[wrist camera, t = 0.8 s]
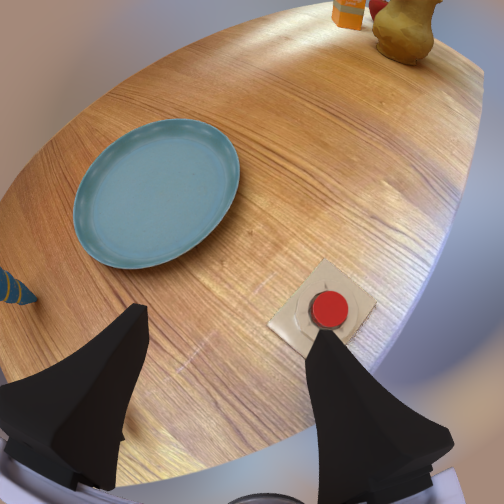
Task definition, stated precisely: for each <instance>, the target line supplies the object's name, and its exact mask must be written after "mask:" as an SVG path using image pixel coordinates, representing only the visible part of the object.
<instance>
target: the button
mask: <svg viewBox="0 0 504 504" xmlns="http://www.w3.org/2000/svg"><path fill="white" fill-rule="evenodd" d="M347 315H348V304H347V301H346V299H345V298H344V297H343V296H342V295H341V294H340V293H338V292H335V291H326V292H323V293H322V294H320V295H319V296H318V297H317V298H316V299H315V300H314V302H313V304H312V306H311V316H312V319H313V321H314V322H315V323H316V324H317V325H318V326H320V327H322V328H327V329H329V328H333V327H336V326H338V325H340V324H341V323H343V322H344V320H345V319H346V317H347Z"/></svg>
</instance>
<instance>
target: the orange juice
mask: <svg viewBox="0 0 504 504" xmlns="http://www.w3.org/2000/svg"><path fill="white" fill-rule="evenodd" d="M365 3H366V0H334V1H333V11H332V20H333V21H334V23H335V24H336V25H337V26H338V27H342V28H349V29H354V30H361V25H362V20H363V15H364V10H365Z"/></svg>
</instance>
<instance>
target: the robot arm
mask: <svg viewBox="0 0 504 504" xmlns="http://www.w3.org/2000/svg"><path fill="white" fill-rule="evenodd" d="M148 345H149V328H148V312H147V306H145V305H140V304H135V303H133V304H132V305H130V306H129V307H128V308H127V309H126V310H125V311H124V312H123V313H122V314H121V315H120V316H119V317H117V318H116V319H115V320H114V321H113V322H112V323H111V324H110V325H109V326H107V327H106V328H105V329H104V330H103V331H102V332H101V333H99V334H98V335H97V336H96V337H94V338H93V339H92V340H91V341H89V342H88V343H87V344H86V345H84V346H83V347H82V348H80V349H79V350H77V351H76V352H74V353H73V354H71V355H70V356H68V357H67V358H65V359H64V360H62V361H60V362H58V363H56V364H55V365H53V366H51V367H49V368H47V369H45V370H43V371H41V372H39V373H37V374H34V375H32V376H29V377H27V378H24V379H21V380H18V381H15V382H12V383H9V384H5V385H2V386H1V387H0V428H1V429H2V430H3V431H4V432H5V433H6V434H7V435H8V436H9V439H8V441H6V440H4V439H3V438H2V437H0V499H1V500H2V501H3V502H5V503H6V504H143V503H139V502H135V501H131V500H128V499H124V498H121V497H118V496H114V495H111V494H108V493H105V492H102V491H100V490H97V489H103V490H106V491H110V490H113V489H114V488H115V483H116V470H117V460H118V452H119V445H120V440H121V434H122V428H123V424H124V419H125V414H126V410H127V407H128V404H129V401H130V398H131V395H132V393H133V390H134V387H135V384H136V382H137V379H138V377H139V374H140V371H141V369H142V366H143V363H144V360H145V357H146V353H147V349H148ZM305 368H306V380H307V385H308V390H309V395H310V399H311V404H312V408H313V413H314V417H315V422H316V428H317V436H318V448H319V491H318V504H466V502H465V499H464V495H463V492H462V489H461V486H460V483H459V481H458V478H457V475H456V472H455V469H454V467H450V468H448V469H446V470H444V471H442V472H440V473H438V474H436V475H434V476H432V477H431V476H430V472H431V471H433V468H432V465H431V464H432V463H434V462H435V461H437V460H438V459H439V458H441V457H442V456H444V455H445V454H446V453H448V452H449V451H450V450H451V449H452V448H453V446H454V441H453V439H452V436H451V434H450V432H449V429H448V428H446V427H443V426H441V425H439V424H437V423H435V422H433V421H431V420H429V419H427V418H425V417H423V416H422V415H420V414H418V413H417V412H415V411H413V410H412V409H410V408H409V407H407V406H406V405H404V404H403V403H402V402H401V401H399V400H398V399H397V398H395V397H394V396H393V395H392V394H391V393H390V392H388V391H387V390H386V389H385V388H384V387H383V386H382V385H381V384H380V383H378V382H377V380H375V379H374V378H373V376H372V375H371V374H370V373H369V372H368V371H367V370H366V369H365V368H364V367H363V366H362V365H361V363H360V362H359V361H358V360H357V359H356V358H355V357H354V355H353V354H352V353H351V352H350V351H349V349H348V348H347V347H346V346H345V345H344V343H343V342H342V341H341V340H340V339H339V337H338V336H337V335H336V334H335V333H334V332H333V331H332V330H321V329H319V332H318V334H317V336H316V338H315V340H314V343H313V345H312V347H311V349H310V351H309V353H308V356H307V358H306V360H305ZM92 487H95V488H97V489H94V488H92Z"/></svg>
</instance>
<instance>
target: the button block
mask: <svg viewBox="0 0 504 504" xmlns="http://www.w3.org/2000/svg"><path fill="white" fill-rule="evenodd" d="M326 291H335V292H338V293H340V294H341V295H342V296H343V297H344V298H345V299H346V301H347V304H348V315H347V317H346V319H345V320H344V322H343V323H341V324H340V325H338V326H336V327H333V328H329V329H327V328H322V327H320V326H318V325H317V324H316V323H315V322H314V321H313V319H312V316H311V306H312V304H313V302H314V300H315V299H316V298H317V297H318V296H319V295H320V294H322V293H323V292H326ZM376 302H377V301H376V300H375V299H374V298H373V297H372V296H371V295H369V294H368V293H367V292H366V291H365V290H363V289H362V288H361V287H360V286H359V285H358V284H356V283H355V282H354V281H353V280H352V279H350V278H349V277H348V276H347V275H346V274H344V273H343V272H342V271H341V270H340V269H338V268H337V267H336V266H335V265H333V264H332V263H331V262H330V261H329V260H327V259H326V258H324V259H323V260H322V261H321V262H320V263H319V265H318V266H317V267H316V268H315V269H314V271H313V272H312V273H311V274H310V275H309V276H308V278H307V279H306V280H305V281H304V282H303V283H302V285H301V286H300V287H299V288H298V289H297V290H296V291H295V293H294V294H293V295H292V296H291V297H290V298H289V299H288V301H287V302H286V303H285V304H284V305H283V306H282V307H281V308H280V310H279V311H278V312H277V313H276V314H275V315H274V316H273V317H272V318H271V319H270V321H269V322H268V323H267V324H266V326H267V327H269V328H270V329H271V330H272V331H273V332H274V333H275V334H277V335H278V336H279V337H280V338H281V339H282V340H284V341H285V342H286V343H287V344H288V345H289V346H291V347H292V348H293V349H294V350H295V351H297V352H298V353H299V354H300V355H301V356H302V357H304V358H305V359H306V358H307V356H308V353H309V351H310V349H311V347H312V345H313V343H314V340H315V338H316V336H317V334H318V332H319V329H321V330H332V331H333V332H334V333H335V334H336V335H337V336H338V337H339V339H340V340H341V341H342V342H343V343H344V345H346V344H347V342H348V341H349V340H350V338H351V337H352V336H353V335H354V333H355V332H356V331H357V329H358V328H359V326H360V325H361V324H362V322H363V321H364V320H365V318H366V317H367V315H368V314H369V313H370V311H371V310H372V308H373V307H374V305H375V304H376Z"/></svg>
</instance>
